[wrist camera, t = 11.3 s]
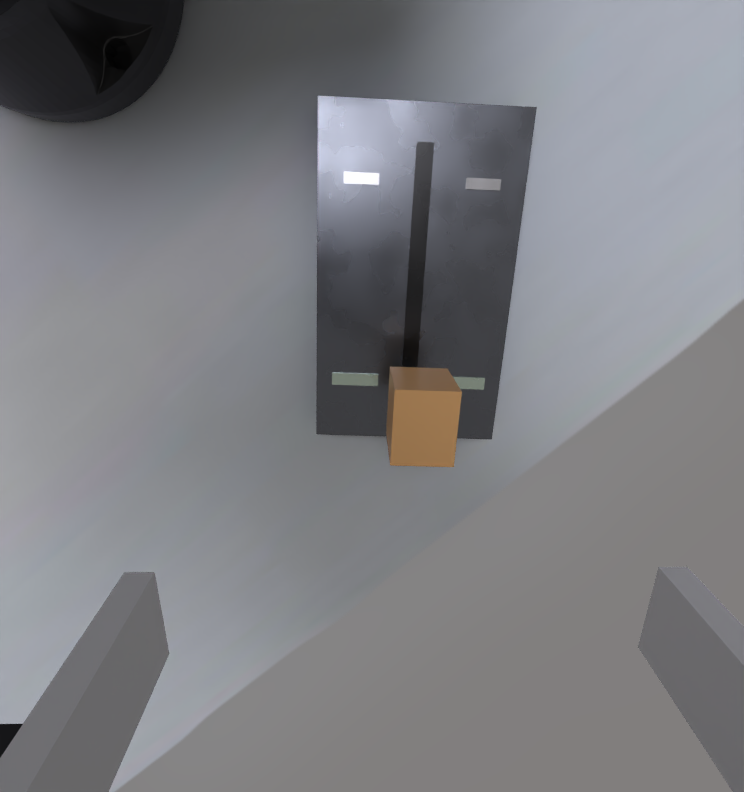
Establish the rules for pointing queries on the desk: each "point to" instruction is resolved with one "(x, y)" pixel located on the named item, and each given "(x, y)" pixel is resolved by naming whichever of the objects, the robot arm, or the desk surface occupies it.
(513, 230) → the panel
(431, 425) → the dimmer fader
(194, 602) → the desk surface
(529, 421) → the desk surface
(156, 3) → the robot arm
